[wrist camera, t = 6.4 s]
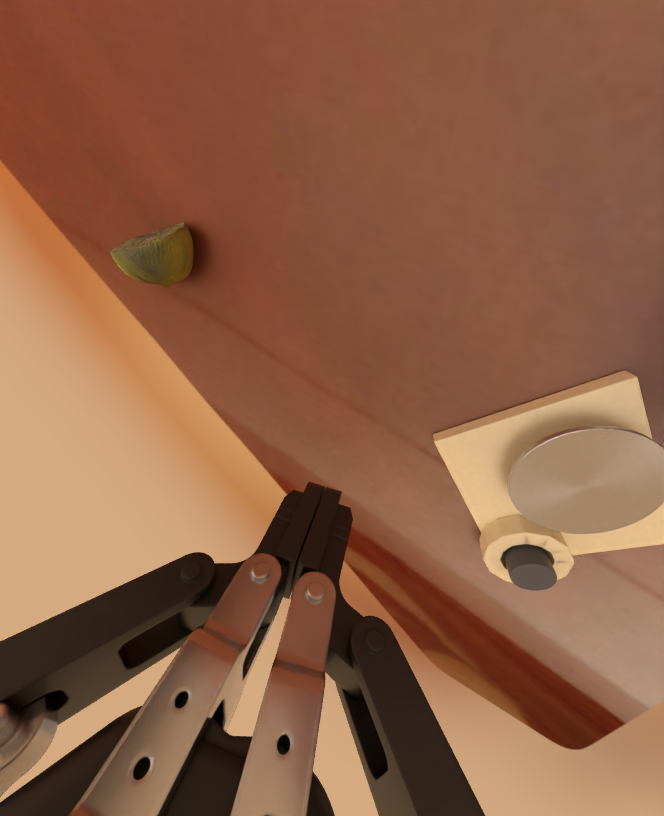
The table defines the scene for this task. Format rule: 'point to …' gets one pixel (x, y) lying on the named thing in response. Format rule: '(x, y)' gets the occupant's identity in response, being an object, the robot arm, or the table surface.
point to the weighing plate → (588, 479)
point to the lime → (157, 256)
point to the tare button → (530, 567)
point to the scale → (509, 437)
